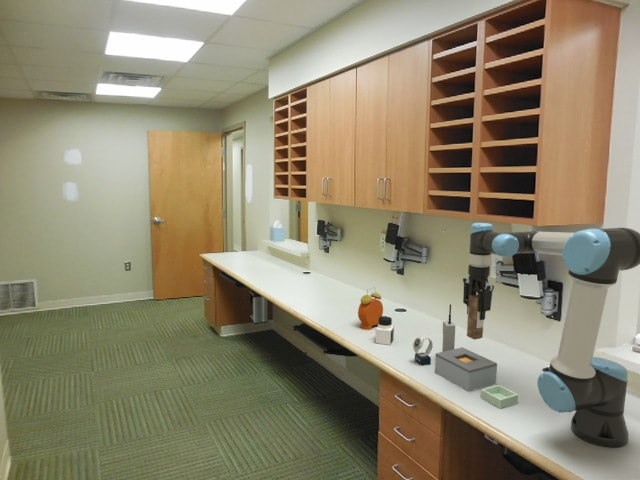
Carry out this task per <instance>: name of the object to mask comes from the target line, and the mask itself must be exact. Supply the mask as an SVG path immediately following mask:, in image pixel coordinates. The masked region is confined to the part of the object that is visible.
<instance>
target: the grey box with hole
mask: <svg viewBox="0 0 640 480" xmlns="http://www.w3.org/2000/svg"><path fill="white" fill-rule="evenodd" d="M464 357H466V358H468V359H470V360H472V361H471V362H467V363H465V362H463V361H461V360H459V359H460V358H464ZM434 358H435V359H434V360H435V362H434V373H435V374H436V375H439V376H440V377H442V378H443V379H445V380H447V381H449V382H451V383H453V384H454V385H457V386H458V387H460V388H462V389H463V390H466V391H467V392H471V391H474V390H475V391H476V390H477V389H483V388H484V387H485V388H486V387H490V386H492V385H495V384H496V385H497V375H498V374H497V372H498V371H497V369H498V362H496V361H493V360H491V359H489V358H487V357H484V356H482V355H480V354H477V353H475V352H473V351H471V350H469V349H467V348H465V347H463V346H462V347H458V348H454V349H453V350H448V351H444V352H442V351H439V352H436V353H435V357H434Z"/></svg>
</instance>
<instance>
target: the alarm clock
mask: <svg viewBox="0 0 640 480" xmlns="http://www.w3.org/2000/svg"><path fill="white" fill-rule="evenodd" d="M371 289H376V287H372V288H370V290H371ZM368 291H369V288H368V289H366V293H368ZM381 300H382V295H380V294H379V292H372V293H371V294H369V295H368V294H364V295H363V296H361V298H360V304H359V306H358V309H357V317H358V320H359V321H360V322H361V324H360V329H364V330H365V331H370V330H372V327H373V326H374V327H375V326H376V327H378V324H379V317H381V316H383V314H384V306H383V303H382V301H381Z"/></svg>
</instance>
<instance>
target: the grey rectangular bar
mask: <svg viewBox="0 0 640 480" xmlns="http://www.w3.org/2000/svg"><path fill="white" fill-rule="evenodd" d="M448 309H449V314H448V320H445V321H444V320H443V321H442V351H441V352H444V351H448V350H453V349H455V343H456V342H455V341H456V324H454V322H453V321H451V320H452V315H451V314H452V312H451V311H452V304H451V303H450V304H449V308H448Z"/></svg>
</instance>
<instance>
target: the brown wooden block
mask: <svg viewBox="0 0 640 480" xmlns="http://www.w3.org/2000/svg"><path fill="white" fill-rule="evenodd" d="M478 310H479V298H478V293H476V295H469V310H468V314H467V319H468V324H466V325H467V327H466V337H468V338H470V339H472V340H474V341H475V340H479V339H483V337H484V335H483V334H484V326H483V327H482V328H476V327H477V312H478Z"/></svg>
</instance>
